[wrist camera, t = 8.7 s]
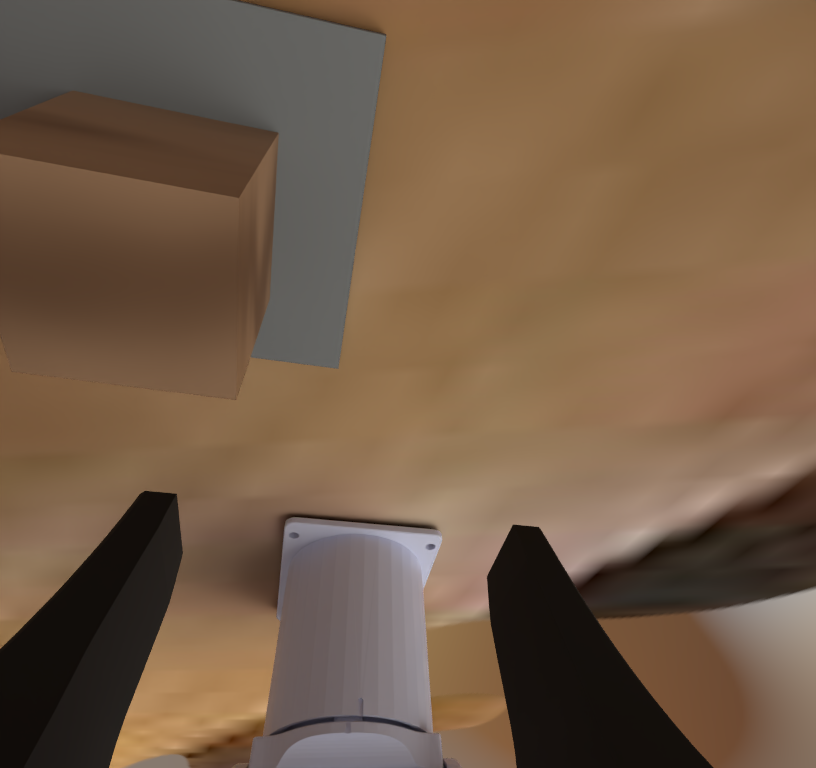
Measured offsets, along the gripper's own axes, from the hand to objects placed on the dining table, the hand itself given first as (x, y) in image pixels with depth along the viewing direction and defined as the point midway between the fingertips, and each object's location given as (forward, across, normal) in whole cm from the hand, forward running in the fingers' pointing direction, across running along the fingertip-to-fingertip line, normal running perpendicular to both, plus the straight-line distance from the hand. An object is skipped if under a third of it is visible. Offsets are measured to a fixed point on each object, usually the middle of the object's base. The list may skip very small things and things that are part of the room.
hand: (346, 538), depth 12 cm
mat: (+10, +6, -3) cm, 12 cm away
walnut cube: (+10, +6, -3) cm, 12 cm away
